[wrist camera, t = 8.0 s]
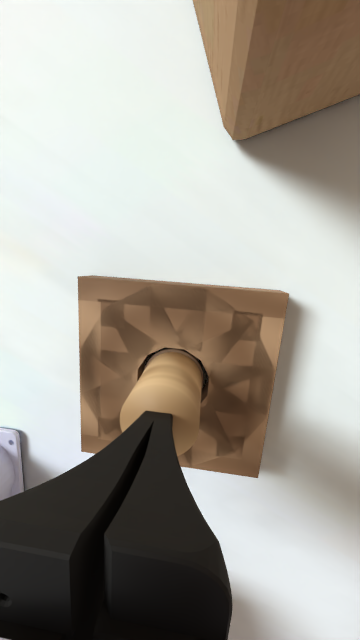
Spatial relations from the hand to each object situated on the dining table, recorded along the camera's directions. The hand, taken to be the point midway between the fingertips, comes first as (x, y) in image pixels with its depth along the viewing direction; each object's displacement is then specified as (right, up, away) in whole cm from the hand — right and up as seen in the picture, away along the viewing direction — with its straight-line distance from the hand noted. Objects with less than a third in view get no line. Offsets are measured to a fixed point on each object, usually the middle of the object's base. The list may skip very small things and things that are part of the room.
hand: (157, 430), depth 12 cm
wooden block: (+7, +21, +2) cm, 23 cm away
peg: (+1, +2, +7) cm, 7 cm away
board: (+1, +1, +7) cm, 7 cm away
